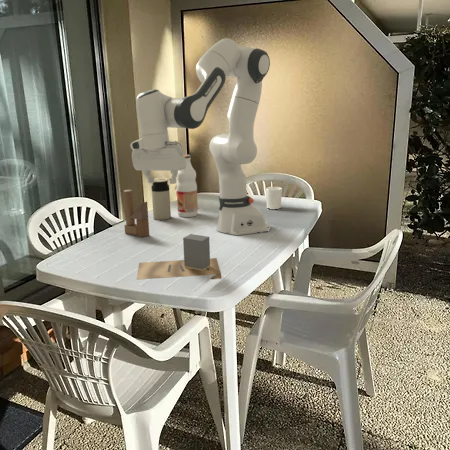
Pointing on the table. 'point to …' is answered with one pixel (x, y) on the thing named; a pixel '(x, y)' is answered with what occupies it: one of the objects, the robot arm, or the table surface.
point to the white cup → (273, 197)
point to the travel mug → (161, 199)
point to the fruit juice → (187, 190)
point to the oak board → (175, 269)
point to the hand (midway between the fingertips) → (162, 183)
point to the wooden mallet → (135, 216)
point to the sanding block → (196, 252)
